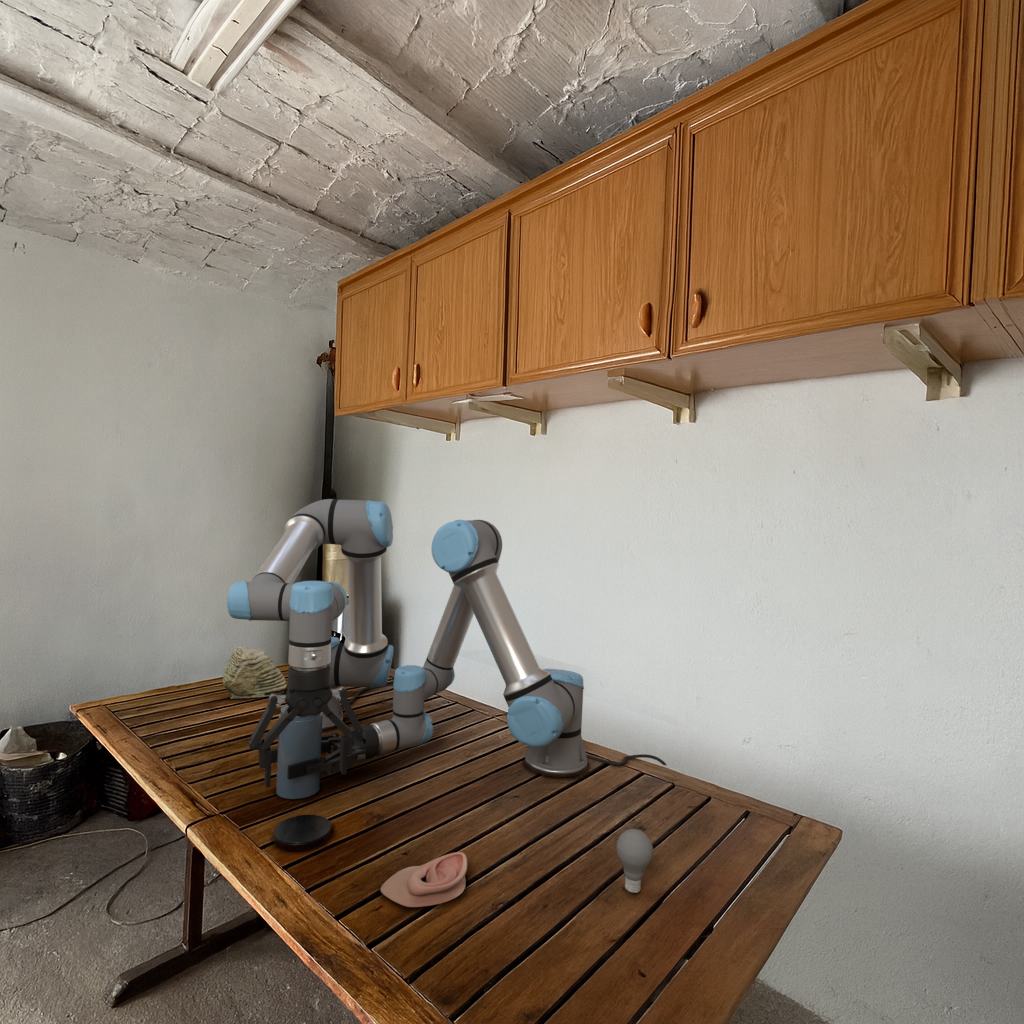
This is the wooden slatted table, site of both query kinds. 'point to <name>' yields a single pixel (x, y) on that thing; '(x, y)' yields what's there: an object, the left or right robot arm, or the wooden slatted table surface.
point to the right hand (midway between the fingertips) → (278, 764)
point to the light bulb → (634, 857)
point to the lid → (302, 833)
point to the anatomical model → (428, 882)
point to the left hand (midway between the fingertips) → (306, 777)
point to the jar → (298, 755)
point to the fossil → (252, 674)
